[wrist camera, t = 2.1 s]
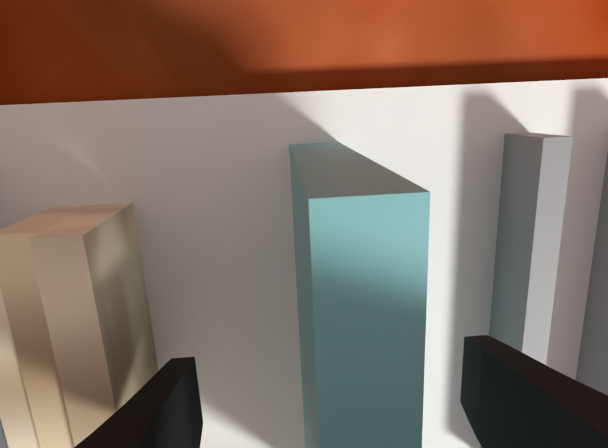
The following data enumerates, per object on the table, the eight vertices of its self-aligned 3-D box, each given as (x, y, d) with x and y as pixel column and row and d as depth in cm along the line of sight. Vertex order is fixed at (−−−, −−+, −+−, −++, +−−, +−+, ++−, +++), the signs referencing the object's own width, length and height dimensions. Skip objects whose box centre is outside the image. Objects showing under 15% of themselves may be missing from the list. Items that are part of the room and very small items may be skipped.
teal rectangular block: (346, 465, 16) (410, 793, 8) (306, 469, 16) (334, 802, 8) (338, 141, 13) (430, 192, 5) (289, 144, 13) (308, 199, 5)
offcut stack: (170, 446, 15) (140, 541, 12) (67, 455, 15) (8, 554, 12) (132, 202, 13) (82, 235, 10) (10, 209, 13) (-84, 245, 10)
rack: (608, 452, 18) (699, 545, 14) (21, 504, 17) (-55, 622, 13) (673, 76, 14) (823, 64, 10) (-88, 110, 13) (-243, 111, 9)
